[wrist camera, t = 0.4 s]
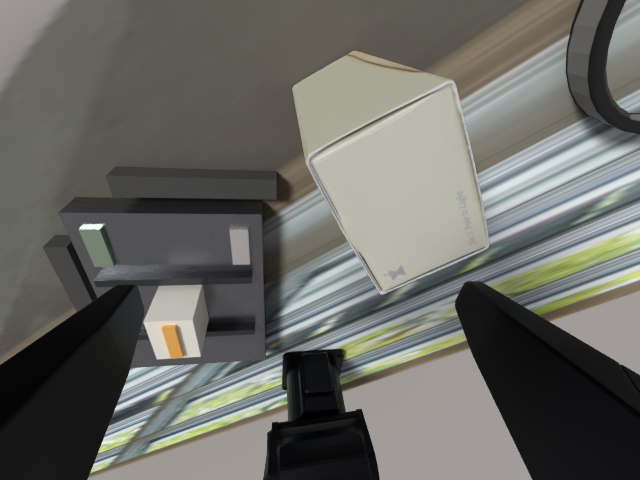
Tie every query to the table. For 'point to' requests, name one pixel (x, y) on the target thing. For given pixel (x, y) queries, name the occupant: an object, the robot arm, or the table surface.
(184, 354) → the breaker lever
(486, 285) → the robot arm
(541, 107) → the table surface
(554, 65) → the table surface
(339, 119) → the skincare box
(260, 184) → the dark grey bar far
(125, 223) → the panel
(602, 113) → the headset
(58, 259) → the dark grey bar
